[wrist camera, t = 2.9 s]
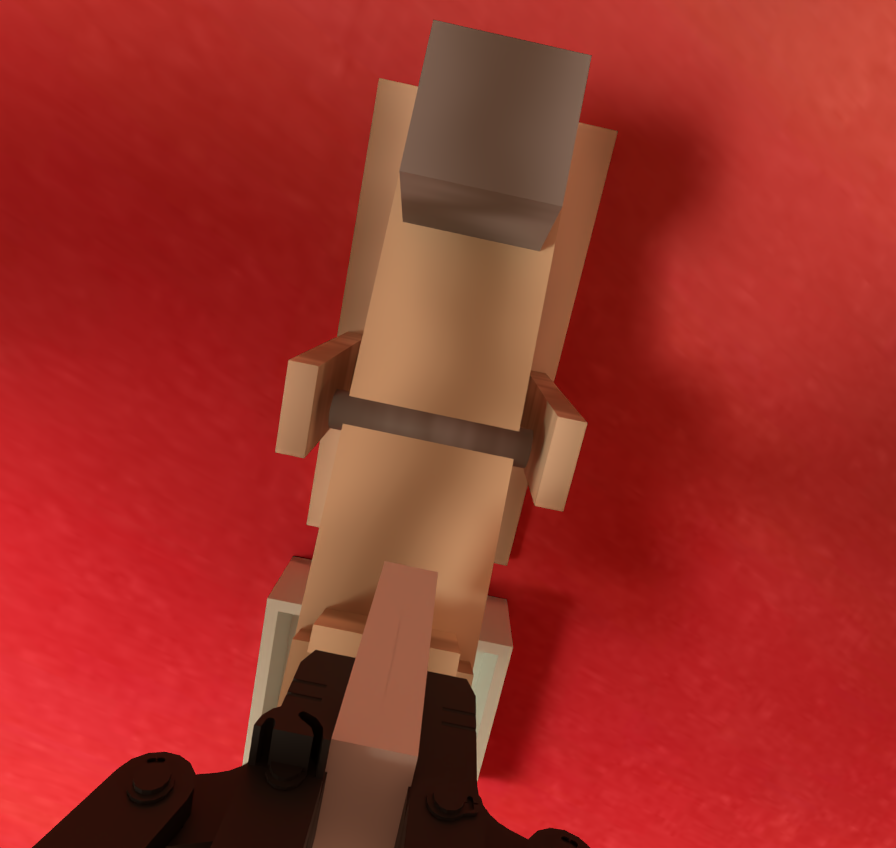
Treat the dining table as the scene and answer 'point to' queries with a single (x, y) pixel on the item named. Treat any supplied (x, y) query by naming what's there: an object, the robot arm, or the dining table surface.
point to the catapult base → (336, 359)
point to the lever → (447, 343)
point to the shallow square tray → (283, 627)
